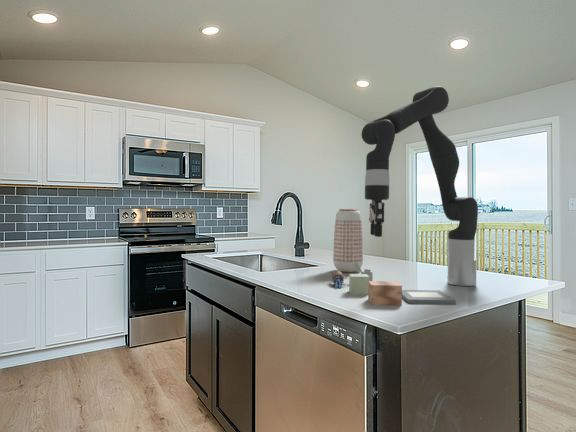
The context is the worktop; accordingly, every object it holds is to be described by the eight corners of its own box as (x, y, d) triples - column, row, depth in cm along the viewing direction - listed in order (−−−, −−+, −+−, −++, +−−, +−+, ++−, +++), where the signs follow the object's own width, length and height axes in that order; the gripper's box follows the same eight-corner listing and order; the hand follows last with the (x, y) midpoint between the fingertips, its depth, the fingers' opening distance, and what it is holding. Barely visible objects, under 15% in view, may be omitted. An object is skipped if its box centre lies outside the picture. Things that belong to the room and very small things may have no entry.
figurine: (346, 293, 138) (344, 282, 150) (346, 279, 137) (344, 269, 149) (330, 293, 139) (330, 281, 151) (331, 279, 138) (330, 269, 150)
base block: (397, 300, 121) (397, 281, 121) (401, 305, 115) (401, 285, 115) (368, 299, 122) (368, 280, 122) (371, 305, 116) (371, 285, 115)
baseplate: (439, 293, 130) (439, 290, 130) (455, 304, 116) (455, 300, 116) (397, 293, 131) (397, 289, 131) (408, 303, 117) (408, 299, 117)
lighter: (372, 282, 149) (372, 262, 149) (372, 283, 148) (372, 262, 147) (353, 281, 151) (354, 261, 151) (353, 282, 150) (353, 261, 149)
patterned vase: (343, 274, 167) (344, 209, 166) (327, 270, 179) (328, 209, 178) (368, 272, 172) (369, 209, 172) (351, 268, 184) (352, 209, 184)
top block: (366, 291, 134) (366, 274, 134) (368, 294, 129) (369, 276, 129) (349, 291, 134) (349, 273, 134) (350, 294, 129) (351, 276, 129)
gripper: (393, 183, 115) (392, 237, 115) (385, 186, 129) (384, 234, 130) (368, 182, 116) (366, 237, 116) (362, 185, 130) (361, 234, 130)
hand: (375, 235), depth 123 cm, fingers open, 8 cm apart
